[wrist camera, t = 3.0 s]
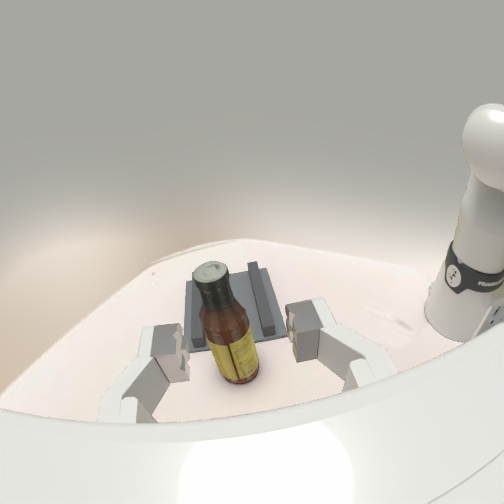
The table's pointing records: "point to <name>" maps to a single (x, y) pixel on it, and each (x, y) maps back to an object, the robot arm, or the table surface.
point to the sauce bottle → (225, 324)
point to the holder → (250, 298)
